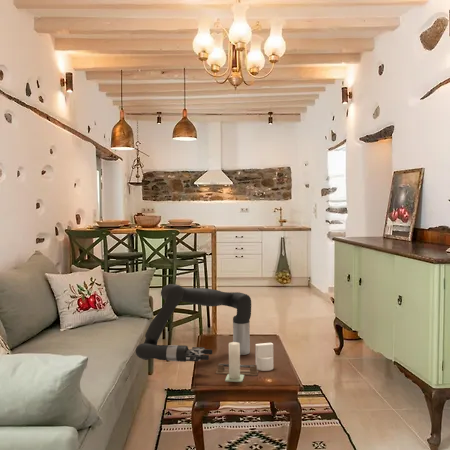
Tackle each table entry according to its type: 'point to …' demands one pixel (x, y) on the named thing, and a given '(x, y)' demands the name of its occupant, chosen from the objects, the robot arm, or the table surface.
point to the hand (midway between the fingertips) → (210, 354)
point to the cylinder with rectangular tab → (264, 356)
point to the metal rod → (240, 365)
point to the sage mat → (234, 379)
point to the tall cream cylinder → (234, 360)
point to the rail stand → (250, 372)
